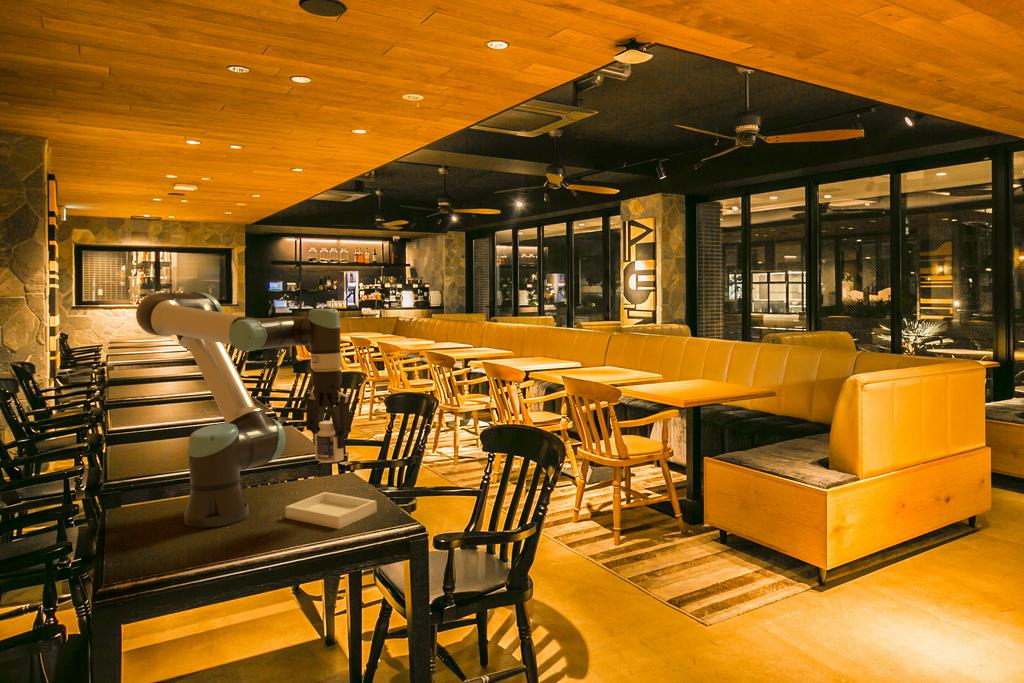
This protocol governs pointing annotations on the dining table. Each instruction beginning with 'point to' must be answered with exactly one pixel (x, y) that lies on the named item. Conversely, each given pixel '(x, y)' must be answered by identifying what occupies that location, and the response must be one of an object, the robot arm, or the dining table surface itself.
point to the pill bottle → (325, 442)
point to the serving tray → (331, 510)
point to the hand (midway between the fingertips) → (329, 459)
